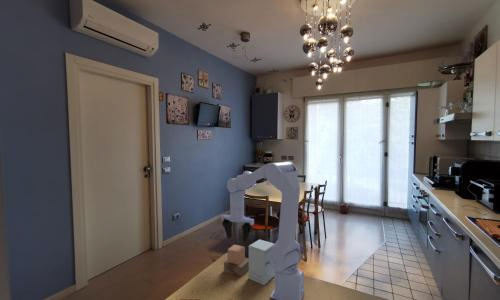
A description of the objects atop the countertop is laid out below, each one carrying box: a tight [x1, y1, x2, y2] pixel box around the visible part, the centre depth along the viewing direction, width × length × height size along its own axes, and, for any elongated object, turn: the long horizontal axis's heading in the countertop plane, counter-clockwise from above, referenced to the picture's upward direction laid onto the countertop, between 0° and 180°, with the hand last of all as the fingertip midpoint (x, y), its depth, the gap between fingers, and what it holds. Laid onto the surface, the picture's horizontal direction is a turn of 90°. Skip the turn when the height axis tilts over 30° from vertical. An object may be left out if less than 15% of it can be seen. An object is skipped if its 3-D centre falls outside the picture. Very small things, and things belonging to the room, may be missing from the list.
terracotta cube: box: [227, 244, 246, 265], centre depth 93 cm, size 5×5×5 cm
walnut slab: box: [223, 257, 249, 278], centre depth 93 cm, size 8×7×4 cm
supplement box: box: [248, 239, 275, 286], centre depth 88 cm, size 7×7×13 cm
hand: (237, 239), depth 97 cm, fingers open, 7 cm apart
